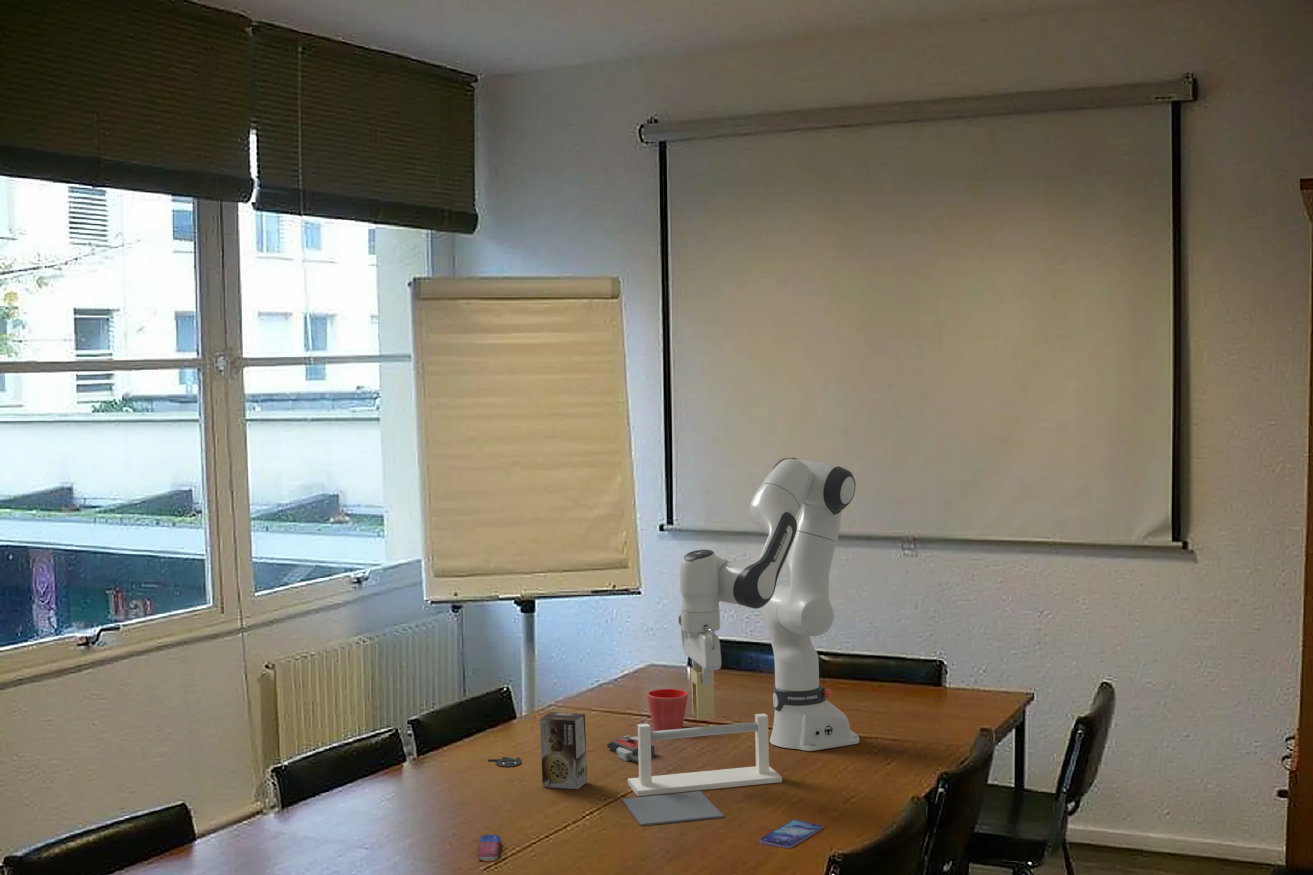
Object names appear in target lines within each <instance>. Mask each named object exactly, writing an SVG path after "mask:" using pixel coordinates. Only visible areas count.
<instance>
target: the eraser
mask: <svg viewBox="0 0 1313 875" xmlns="http://www.w3.org/2000/svg"><path fill="white" fill-rule="evenodd" d="M478 847H479V848H478V852H477V858H479V859H481V860H494V859H497V858H498V856H499V857H500V852H501V836H500V835H498V834H485V835H484V834H483V835H481V837H480V840H479V846H478ZM499 851H500V852H499ZM479 859H478V860H479ZM498 859H499V858H498ZM498 859H497V860H498Z"/></svg>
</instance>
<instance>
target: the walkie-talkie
mask: <svg viewBox="0 0 1313 875" xmlns="http://www.w3.org/2000/svg"><path fill="white" fill-rule="evenodd" d="M606 748H608V749H610V751H611V752H613V753H615V754H617V758H619V759H621V760H624V762H629V761H634V762H636V763H638V764H639V761H638V735H636V736H631V735H630V734H628V735H625V736H619V737H615V738H614V737H613V738H611V740H610V743H607V744H606ZM655 751H656V750H655V745H654V744H651V757H655V755H656V754H655Z"/></svg>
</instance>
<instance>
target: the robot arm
mask: <svg viewBox="0 0 1313 875" xmlns="http://www.w3.org/2000/svg"><path fill="white" fill-rule="evenodd" d="M856 488H857V487H856V479H855V476H854V475H853V473H852V472H851V471H850V470H848V469H846V468H844V467H843V466H835V465H832V464H830V463H826V462H822V461H818V460H809V459H798V458H797V457H784V458H781V459H779V460H778V461H777V462H776V463H775V464H774V466H773V467H772V469H771V471H770V472H769V474H768V475H766V477H765V478H764V480H763V481H762V482H761V484H760V485H759V486H758V488H757V489H756V492H755V493H754V495H753V497H752V499H751V501H750V506H749V508H750V509H749V511H750V515H751V517H752V520H753V521H754V523H755V524H756V525H757V527H759V529H760V530H762V532H764V533H765V534H767V535H768V536H767V539H766V541H765V543H764V545H763V547H762V550H761V551H760V555H759V557H758V558H757V559H756V560H753V561H751V562H747V563H746V562H737V561H732V560H728V559H725V558H722V557H720V556H718V555H717V554H716V553H715V552H714V551H713V550H712V549H711V550H710V549H697V550H692V551H690V552H688V553H686V554H685V555H684V556H683V557H682V560H681V565H680V572H679V575H680V576H679V585H680V587H679V589H680V595H681V597H682V598H681V599H682V603H681V607H680V614H679V615H678V620H677V622H678V625H679V626H680V633H681V635H680V636H681V643H682V644H681V645H682V650H683V653H684V655H686V656H687V657H688V658H690V659H691V664H692V668H693V667H702V670H703V677H702V683H703V684H704V685H711V676H712V672H713V671H716V670H721V667H722V653H721V651H722V650H721V642H720V638H719V635H717V634H716V631H719V630H720V629H721V611H720V602H722V603H726V604H732V605H733V604H734V605H739V606H743V607H745V608H751V609H759V612H760V615H761V617H762V618H763V619H764V621H765V624H766V626H767V630H768V634H769V638H770V643H771V647H772V652H773V658H774V660H773V661H774V686H773V694H772V698H773V699H772V700H773V701H772V702H773V703H772V704H773V708H774V715H773V716H774V717H773V724H772V731H771V735H770V739H769V743H770V744H772V745H773V746H777V747H780V748H785V749H794V750H800V751H801V750H802V751H804V752H805V751H806V752H813V751H820V750H825V749H826V750H827V749H832V748H838V747H845V746H850V745H851V746H852V745H856V744H857V745H858V744H859V743H860V736H859V735H858V734H857V733H856V732H854V731H852V730H851V726H850V722H849V721H850V720H849V719H848V717H847V715H846V714H845V713H844V712H843V711H841V710H840V709H839V708H838V707H836V705H834V704H833V703H831V702H830V701H829V700H827V698H829V699H830V698H832V696H833V694H834V692H833V690H831V689H830V688H826V687H823V686H822V685H820V668H819V663H820V662H819V654H818V652H817V650H816V649H815V647H814V645H813V642H812V639H811V637H817V636H818V637H819V636H822V635H824V634H826V633H827V632H828V631H829V630H830V629H831V627H832V626H833V623H834V618H835V612H834V608H833V606H832V604H831V601H830V590H829V589H830V582H829V581H830V571H831V566H832V562H833V558H834V554H835V550H836V547H837V542H838V539H839V534H840V528H841V524H842V523H841V521H842V511H843V510H845V509H846V508H847V506H848V505H850V504H851V502H852V500H853V498H854V497H855V494H856V493H855V492H856ZM801 507H802V509H801ZM800 509H801V511H800ZM799 511H800V512H799ZM798 513H799V516H798V518H797V519H796V517H797V514H798ZM785 562H786V563H787V566H788V568H789V569H788V570H789V577H790V579H789V580H790V581H789V582H790V583H789V585H777V582H778V578H779V575H780V573H781V572H782V571H781V570H782V568H783V566H784V564H785Z"/></svg>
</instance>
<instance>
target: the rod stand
mask: <svg viewBox="0 0 1313 875" xmlns="http://www.w3.org/2000/svg"><path fill="white" fill-rule="evenodd" d="M748 732H754V733H755V734H754V738H755V739H754V740H755V742H754V743H755V766H745V767H735V768H734V767H733V768H723V769H716V770H715V769H714V770H703V771H693V772H681V773H680V772H679V773H671V774H661V775H652V756H651V745H652V744H651V743H652V741H660V740H671V739H672V740H673V739H681V738H682V739H683V738H692V737H694V738H695V737H705V736H707V737H708V736H717V735H728V734H738V733H748ZM637 737H638V761H639V763H638V777H629V778H627V785H628V786H629V788H631V790H632V791H633V792H634V793H635V795H636V796H637V797H646V796H656V795H666V794H676V793H686V792H697V791H705V790H714V789H725V788H734V787H735V788H736V787H743V786H754V785H766V784H774V783H775V784H776V783H783V777H782V776H781V774H779V773H778V772H777V771H776V770H775V769H773V768H772V767H771V766H770V759H769V758H770V755H769V754H770V752H769V748H770V747H769V745H770V744H769V743H770V740H769V715H768V714H766V713H756V714H754V722H745V723H744V722H743V723H732V724H722V725H721V724H720V725H710V726H700V727H688V728H687V727H686V728H682V729H673V730H662V731H655V730H652V731H651V725H650V724H648V723H640V724H639V723H638V724H637Z"/></svg>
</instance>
